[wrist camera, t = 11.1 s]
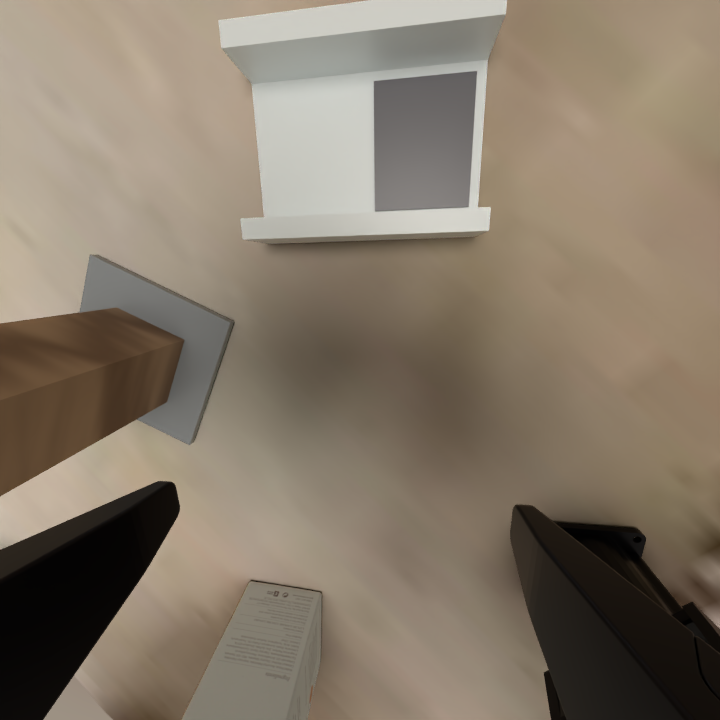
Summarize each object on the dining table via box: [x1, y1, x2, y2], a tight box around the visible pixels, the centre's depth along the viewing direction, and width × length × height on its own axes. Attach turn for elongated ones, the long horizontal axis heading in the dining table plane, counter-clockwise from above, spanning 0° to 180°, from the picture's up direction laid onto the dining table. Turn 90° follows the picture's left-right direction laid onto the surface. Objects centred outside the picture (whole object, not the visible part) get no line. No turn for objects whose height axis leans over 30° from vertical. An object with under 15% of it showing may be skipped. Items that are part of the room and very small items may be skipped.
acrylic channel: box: [218, 0, 507, 244], centre depth 16 cm, size 12×9×3 cm
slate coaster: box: [80, 255, 234, 445], centre depth 23 cm, size 10×10×1 cm
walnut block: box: [0, 307, 184, 496], centre depth 17 cm, size 5×5×12 cm
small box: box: [181, 581, 322, 720], centre depth 22 cm, size 8×6×13 cm
